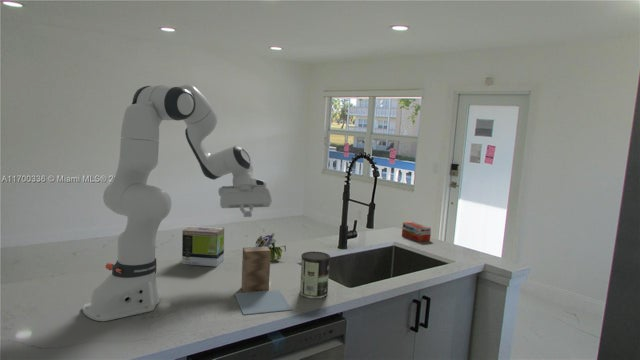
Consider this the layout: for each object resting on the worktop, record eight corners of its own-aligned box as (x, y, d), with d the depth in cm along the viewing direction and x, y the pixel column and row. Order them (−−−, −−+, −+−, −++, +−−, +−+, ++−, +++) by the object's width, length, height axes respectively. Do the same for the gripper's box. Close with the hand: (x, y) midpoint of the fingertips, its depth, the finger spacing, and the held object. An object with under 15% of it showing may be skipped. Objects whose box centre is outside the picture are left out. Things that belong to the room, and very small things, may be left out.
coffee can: (325, 287, 164) (327, 251, 162) (330, 298, 154) (332, 259, 152) (297, 287, 162) (299, 251, 160) (301, 298, 152) (303, 259, 150)
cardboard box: (244, 292, 154) (245, 251, 153) (241, 287, 159) (242, 247, 157) (268, 290, 158) (270, 250, 156) (265, 285, 162) (267, 246, 161)
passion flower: (258, 270, 196) (248, 243, 200) (282, 262, 202) (272, 236, 206) (266, 262, 186) (255, 234, 190) (291, 254, 192) (280, 226, 196)
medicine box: (430, 241, 243) (431, 227, 242) (419, 242, 238) (420, 228, 237) (411, 234, 255) (412, 221, 254) (400, 235, 251) (402, 222, 250)
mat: (234, 294, 152) (234, 293, 152) (278, 290, 158) (278, 289, 158) (243, 315, 137) (243, 314, 137) (292, 310, 142) (292, 309, 142)
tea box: (224, 260, 189) (225, 227, 187) (216, 267, 179) (217, 232, 177) (190, 257, 190) (191, 224, 188) (181, 264, 180) (181, 229, 179)
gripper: (218, 182, 171) (221, 213, 164) (269, 181, 178) (274, 211, 171) (217, 190, 176) (219, 221, 169) (266, 189, 183) (271, 219, 176)
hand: (247, 216), depth 170 cm, fingers closed
